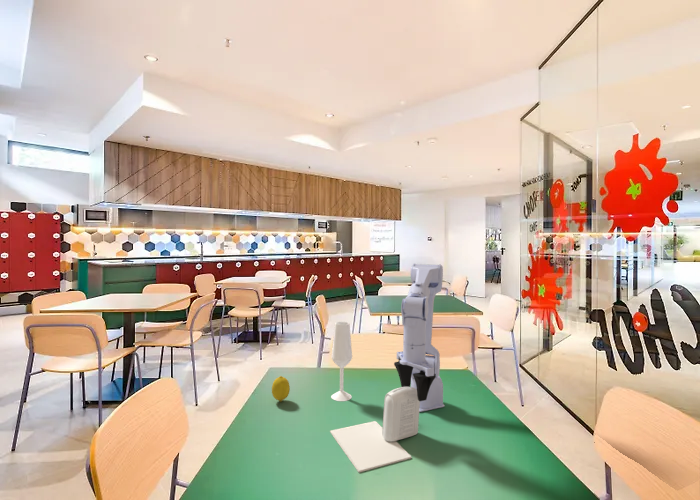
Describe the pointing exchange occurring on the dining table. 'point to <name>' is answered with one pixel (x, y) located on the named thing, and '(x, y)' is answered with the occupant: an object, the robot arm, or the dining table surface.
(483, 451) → the dining table surface
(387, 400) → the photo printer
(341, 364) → the champagne flute
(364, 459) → the mat
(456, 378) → the dining table surface
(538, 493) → the dining table surface
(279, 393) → the lemon
